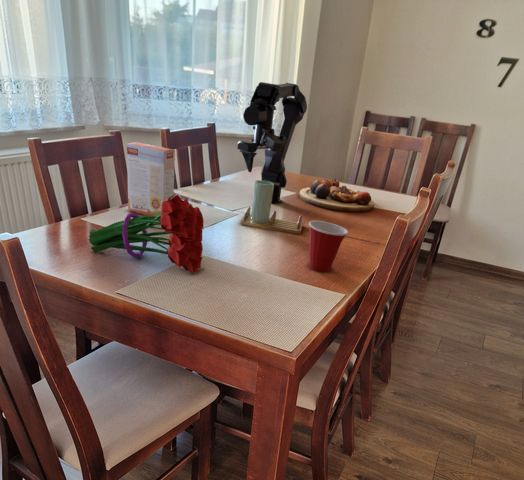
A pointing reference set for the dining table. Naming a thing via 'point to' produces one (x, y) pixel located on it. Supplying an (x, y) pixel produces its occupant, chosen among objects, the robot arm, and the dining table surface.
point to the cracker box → (149, 177)
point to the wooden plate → (336, 196)
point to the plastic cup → (324, 244)
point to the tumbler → (262, 201)
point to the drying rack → (274, 223)
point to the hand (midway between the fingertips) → (258, 171)
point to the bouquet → (172, 222)
